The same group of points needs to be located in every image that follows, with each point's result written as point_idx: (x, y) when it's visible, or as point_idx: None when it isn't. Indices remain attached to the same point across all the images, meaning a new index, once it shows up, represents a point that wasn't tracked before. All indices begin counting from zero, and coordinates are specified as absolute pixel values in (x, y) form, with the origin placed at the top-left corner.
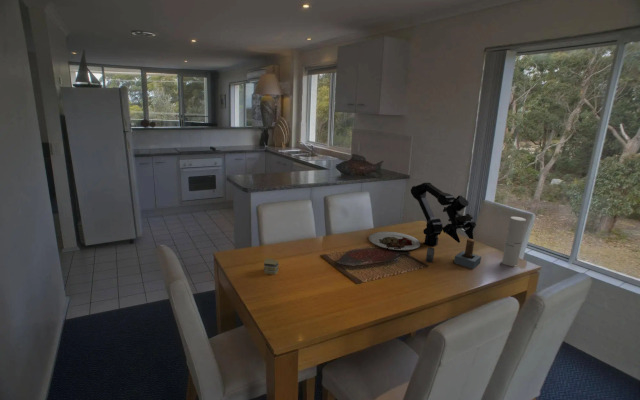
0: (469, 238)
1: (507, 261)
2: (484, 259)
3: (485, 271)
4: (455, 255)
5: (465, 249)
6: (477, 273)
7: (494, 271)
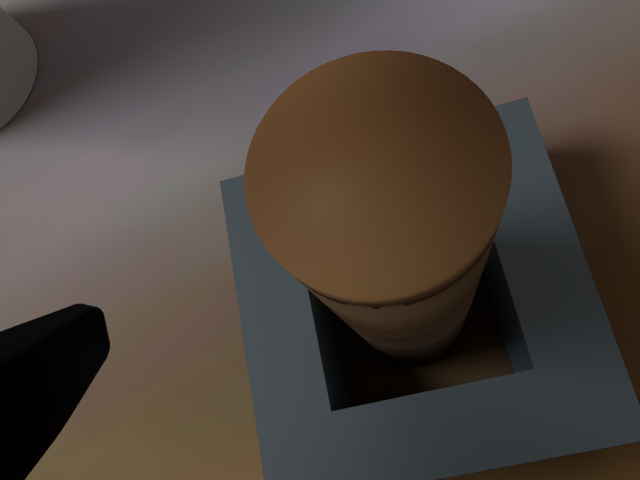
0: (43, 452)
1: (7, 41)
2: (78, 273)
3: (426, 50)
4: (631, 442)
5: (450, 326)
6: (584, 51)
7: (325, 14)
